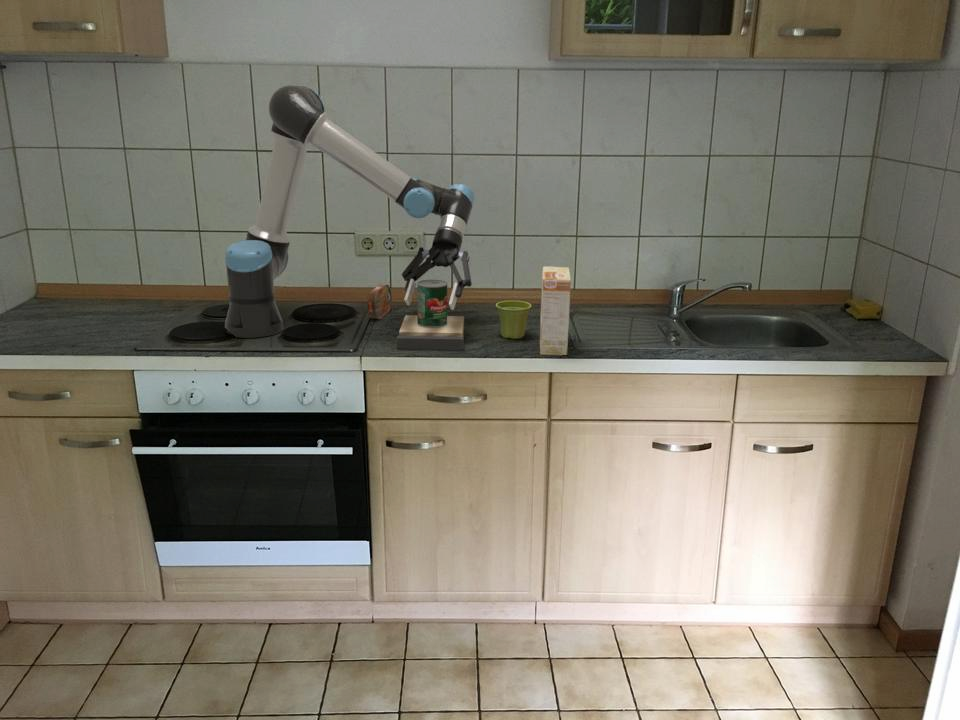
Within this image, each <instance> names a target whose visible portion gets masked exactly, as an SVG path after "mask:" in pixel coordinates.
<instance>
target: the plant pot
mask: <svg viewBox="0 0 960 720" xmlns="http://www.w3.org/2000/svg"><path fill="white" fill-rule="evenodd" d="M495 307H496V308H497V312H498V314H499V315H498V317H499V325H500V332H501V333H500V335H501V336H502V338H504V339H507V338H510V339H512V340H515V339H517V340H518V339H522V338H523V337H525V334H526V327H527V326H526V325H527V321H528V315H529V313H530V309H531V308H532V304H531V303H529V302H527V301H522V300H504V301H503V300H502V301H499V302H497V303H496V304H495Z"/></svg>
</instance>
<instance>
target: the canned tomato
mask: <svg viewBox="0 0 960 720" xmlns="http://www.w3.org/2000/svg"><path fill="white" fill-rule="evenodd" d="M448 285H449V284H448V282H447V281H446V280H441V279H423V280H420V281H417V282H416V287H417V288H416V290H417V291H416V292H417V301H416V302H417V314H416V315H418V316H417V317H418V322H417V324H418V325H419V326H421V327H426V328H438V327H443V326H446V325H447V316H448Z"/></svg>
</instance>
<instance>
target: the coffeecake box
mask: <svg viewBox="0 0 960 720" xmlns="http://www.w3.org/2000/svg"><path fill="white" fill-rule="evenodd" d="M570 272H571V271H570V267H569V266H568V267H565V266H552V265H551V266H543V267H542V276H541V292H540V293H541V294H540V297H541V298H540V319H539V320H540V322H539V324H540V325H539V354H540V356H562V355H568V343H569V327H570V326H569V324H570V323H569V322H570V308H571V307H570V302H571V300H570V299H571V282H572V280H571V273H570Z"/></svg>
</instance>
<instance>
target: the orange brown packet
mask: <svg viewBox="0 0 960 720" xmlns="http://www.w3.org/2000/svg"><path fill="white" fill-rule="evenodd" d="M366 300H367V303H366V304H367V310H368V311H367V312H368V316H369V318H370V319H371V320H382V319H383V318H384V317H385V316H386V315H387V314H388V313H390V311H391V310H392V309H391V308H392V301H393V300H392V292H391V288H390V285H389V284H379V285H377V286H376V287H375V288H373V289H372V290H370V291H369V292H368V295H367V299H366Z"/></svg>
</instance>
